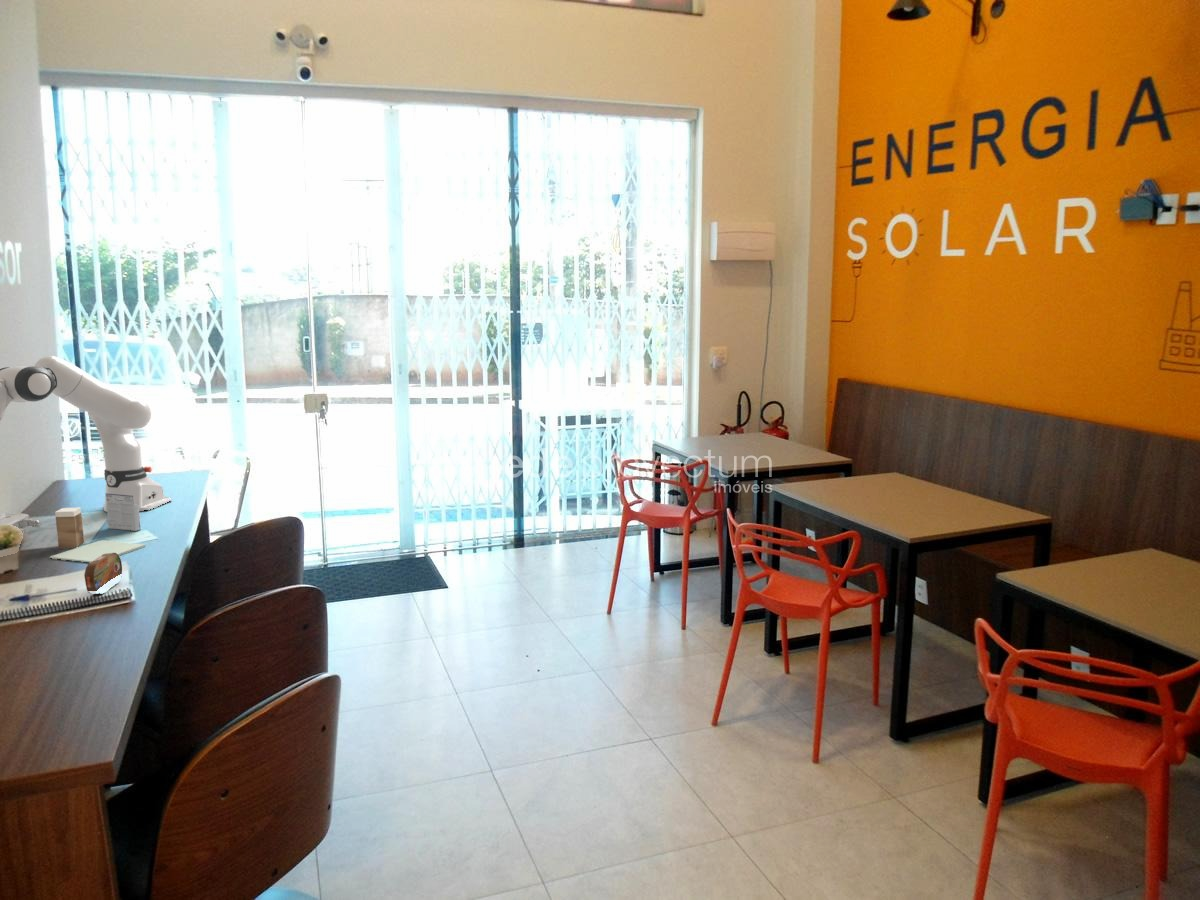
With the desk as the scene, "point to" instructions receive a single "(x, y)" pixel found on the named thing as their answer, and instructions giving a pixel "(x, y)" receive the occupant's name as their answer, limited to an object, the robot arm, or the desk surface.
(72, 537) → the walnut block
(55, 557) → the sage mat
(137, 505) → the ink box
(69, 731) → the desk surface
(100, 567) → the tin
